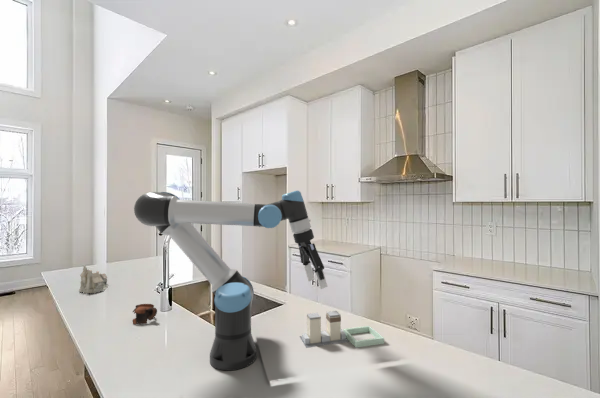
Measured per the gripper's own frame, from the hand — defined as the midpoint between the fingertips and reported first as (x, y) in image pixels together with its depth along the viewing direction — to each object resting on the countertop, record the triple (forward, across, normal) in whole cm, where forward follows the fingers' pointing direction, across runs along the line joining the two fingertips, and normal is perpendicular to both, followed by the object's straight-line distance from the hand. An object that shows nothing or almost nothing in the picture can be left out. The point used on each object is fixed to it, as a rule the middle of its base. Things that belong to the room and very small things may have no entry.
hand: (317, 283), depth 119 cm
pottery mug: (0, +38, +69) cm, 78 cm away
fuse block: (+20, -5, +5) cm, 21 cm away
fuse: (+17, -5, +9) cm, 20 cm away
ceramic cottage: (-13, +98, +103) cm, 143 cm away
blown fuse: (+19, -5, +1) cm, 20 cm away
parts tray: (+23, -9, -8) cm, 26 cm away
